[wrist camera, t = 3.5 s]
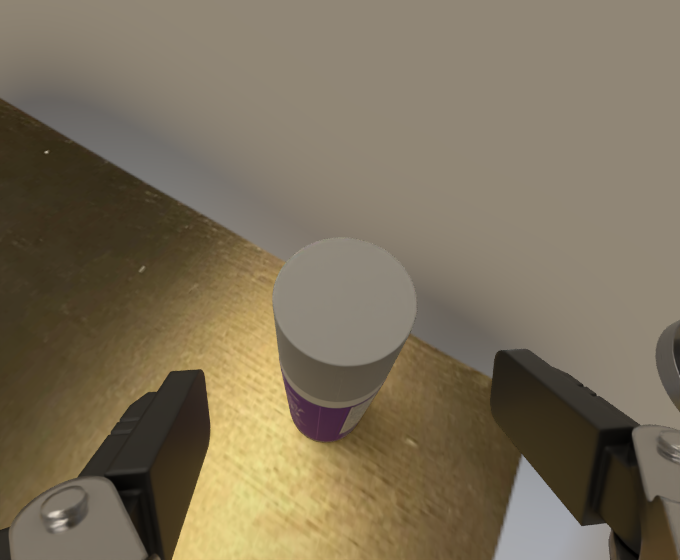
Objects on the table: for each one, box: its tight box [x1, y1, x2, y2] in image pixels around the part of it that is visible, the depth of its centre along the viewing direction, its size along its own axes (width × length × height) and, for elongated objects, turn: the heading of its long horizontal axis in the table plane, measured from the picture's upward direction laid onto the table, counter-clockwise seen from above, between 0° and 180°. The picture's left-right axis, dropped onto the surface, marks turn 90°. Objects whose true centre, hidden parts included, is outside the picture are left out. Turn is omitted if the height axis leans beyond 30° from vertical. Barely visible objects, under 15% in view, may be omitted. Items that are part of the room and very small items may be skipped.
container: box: [273, 238, 417, 442], centre depth 18 cm, size 5×5×15 cm
